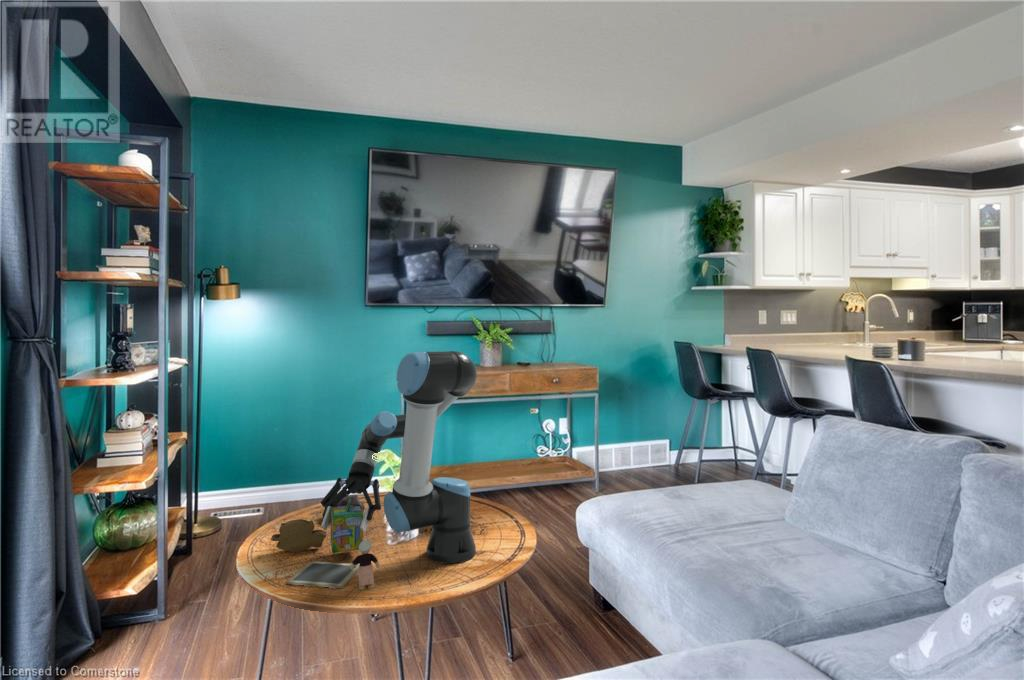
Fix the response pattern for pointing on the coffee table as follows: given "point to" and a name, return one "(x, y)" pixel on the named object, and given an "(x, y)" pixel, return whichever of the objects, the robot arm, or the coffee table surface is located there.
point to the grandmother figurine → (365, 565)
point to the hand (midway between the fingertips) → (343, 529)
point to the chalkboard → (324, 574)
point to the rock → (354, 501)
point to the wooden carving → (298, 536)
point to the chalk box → (346, 527)
